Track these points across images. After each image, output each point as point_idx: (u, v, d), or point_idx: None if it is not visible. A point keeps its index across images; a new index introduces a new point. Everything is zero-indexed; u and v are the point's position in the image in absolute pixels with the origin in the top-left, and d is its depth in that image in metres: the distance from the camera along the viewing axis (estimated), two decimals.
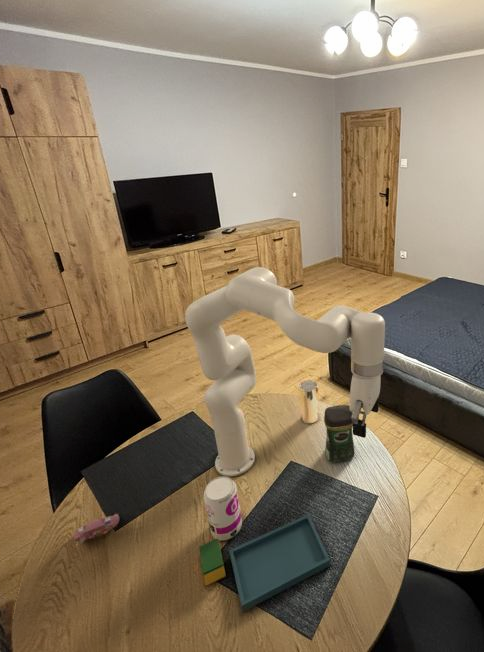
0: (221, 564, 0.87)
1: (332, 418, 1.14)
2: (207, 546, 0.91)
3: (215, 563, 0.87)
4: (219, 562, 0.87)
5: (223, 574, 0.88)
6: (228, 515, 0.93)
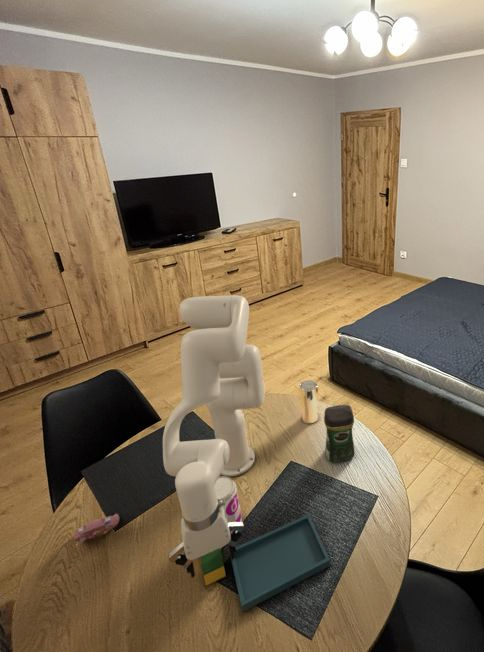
0: (221, 564, 0.87)
1: (332, 418, 1.14)
2: None
3: (215, 563, 0.87)
4: (219, 562, 0.87)
5: (223, 574, 0.88)
6: (228, 515, 0.93)
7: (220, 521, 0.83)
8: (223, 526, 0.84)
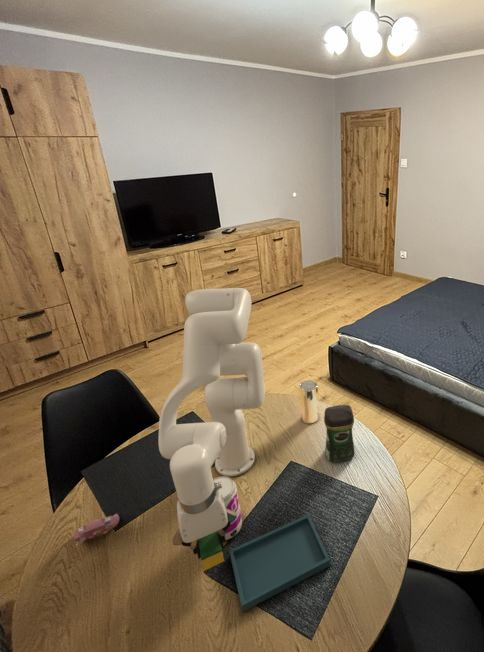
0: (219, 549, 0.86)
1: (332, 418, 1.14)
2: None
3: (213, 548, 0.86)
4: (217, 548, 0.86)
5: (221, 560, 0.87)
6: None
7: (216, 504, 0.82)
8: (220, 509, 0.83)
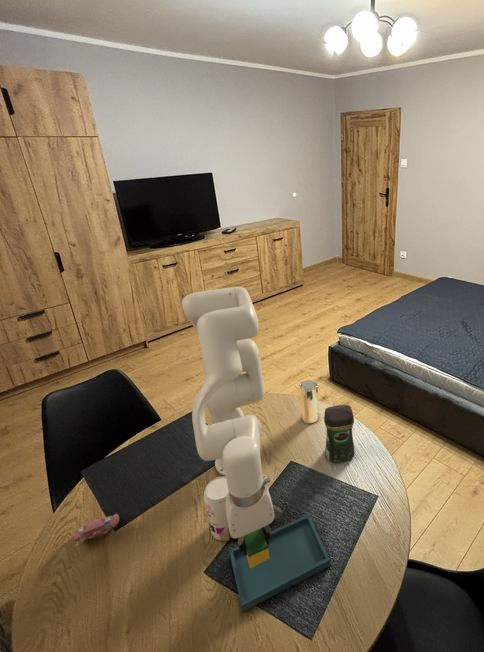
0: (265, 546, 0.85)
1: (332, 418, 1.14)
2: None
3: (259, 545, 0.85)
4: (263, 544, 0.85)
5: (267, 557, 0.86)
6: None
7: (265, 498, 0.81)
8: (268, 504, 0.82)
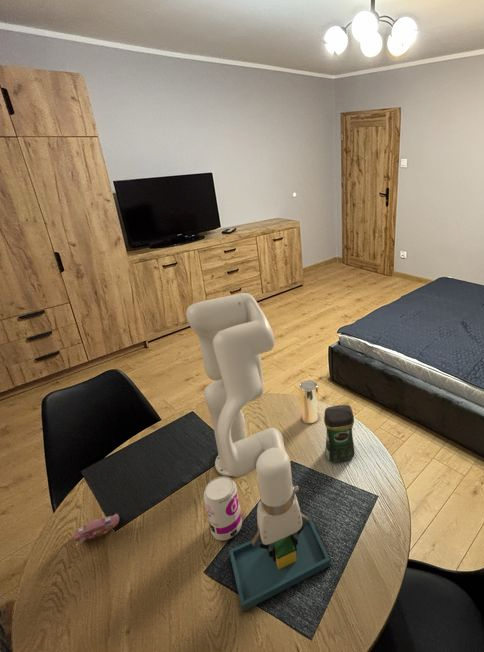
0: (293, 549, 0.89)
1: (332, 418, 1.14)
2: None
3: (287, 548, 0.89)
4: (291, 547, 0.89)
5: (294, 559, 0.90)
6: (228, 515, 0.93)
7: (295, 507, 0.86)
8: (297, 512, 0.87)
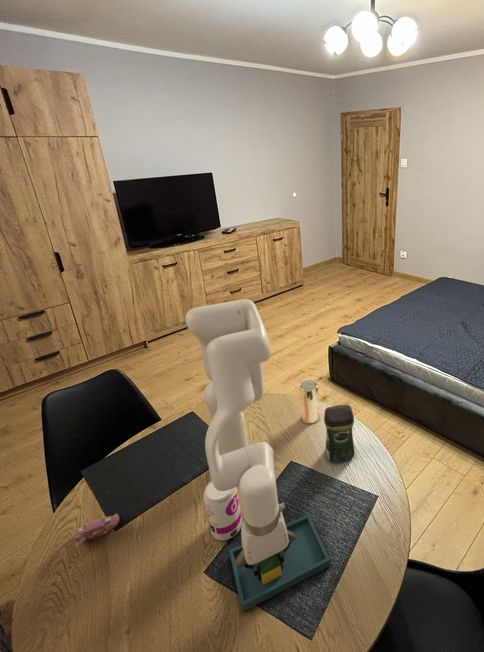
0: (278, 563, 0.86)
1: (332, 418, 1.14)
2: None
3: (272, 562, 0.86)
4: (276, 562, 0.86)
5: (280, 574, 0.87)
6: (228, 515, 0.93)
7: (280, 525, 0.82)
8: (283, 531, 0.83)
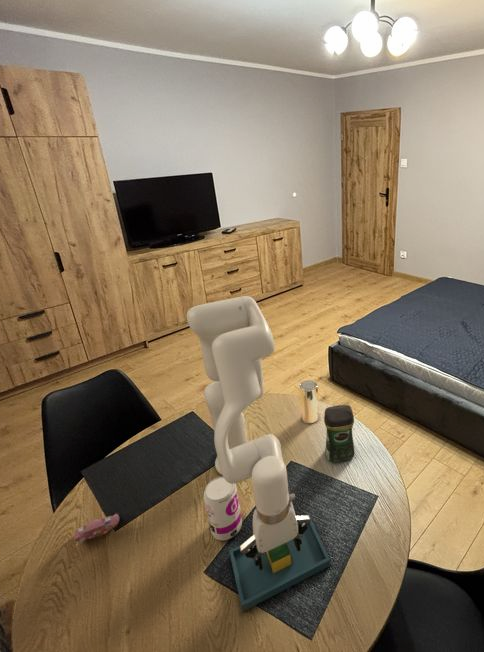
0: (288, 552, 0.88)
1: (332, 418, 1.14)
2: None
3: (282, 551, 0.88)
4: (285, 551, 0.88)
5: (289, 563, 0.90)
6: (228, 515, 0.93)
7: (291, 515, 0.85)
8: (293, 520, 0.86)
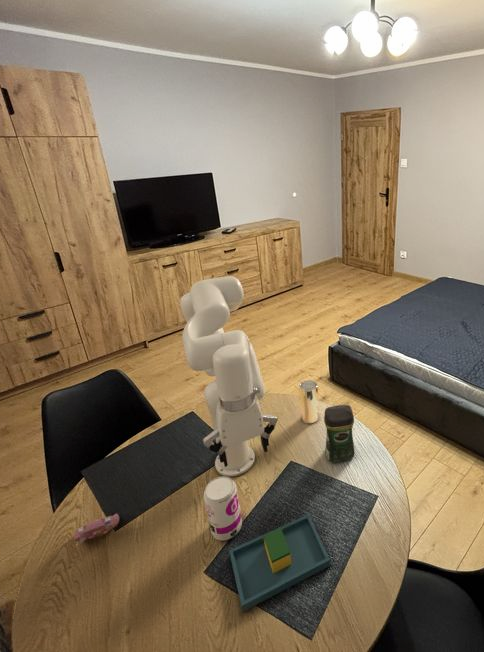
0: (288, 552, 0.88)
1: (332, 418, 1.14)
2: (271, 535, 0.92)
3: (282, 551, 0.88)
4: (285, 551, 0.88)
5: (289, 563, 0.90)
6: (228, 515, 0.93)
7: (255, 407, 0.83)
8: (258, 413, 0.84)
